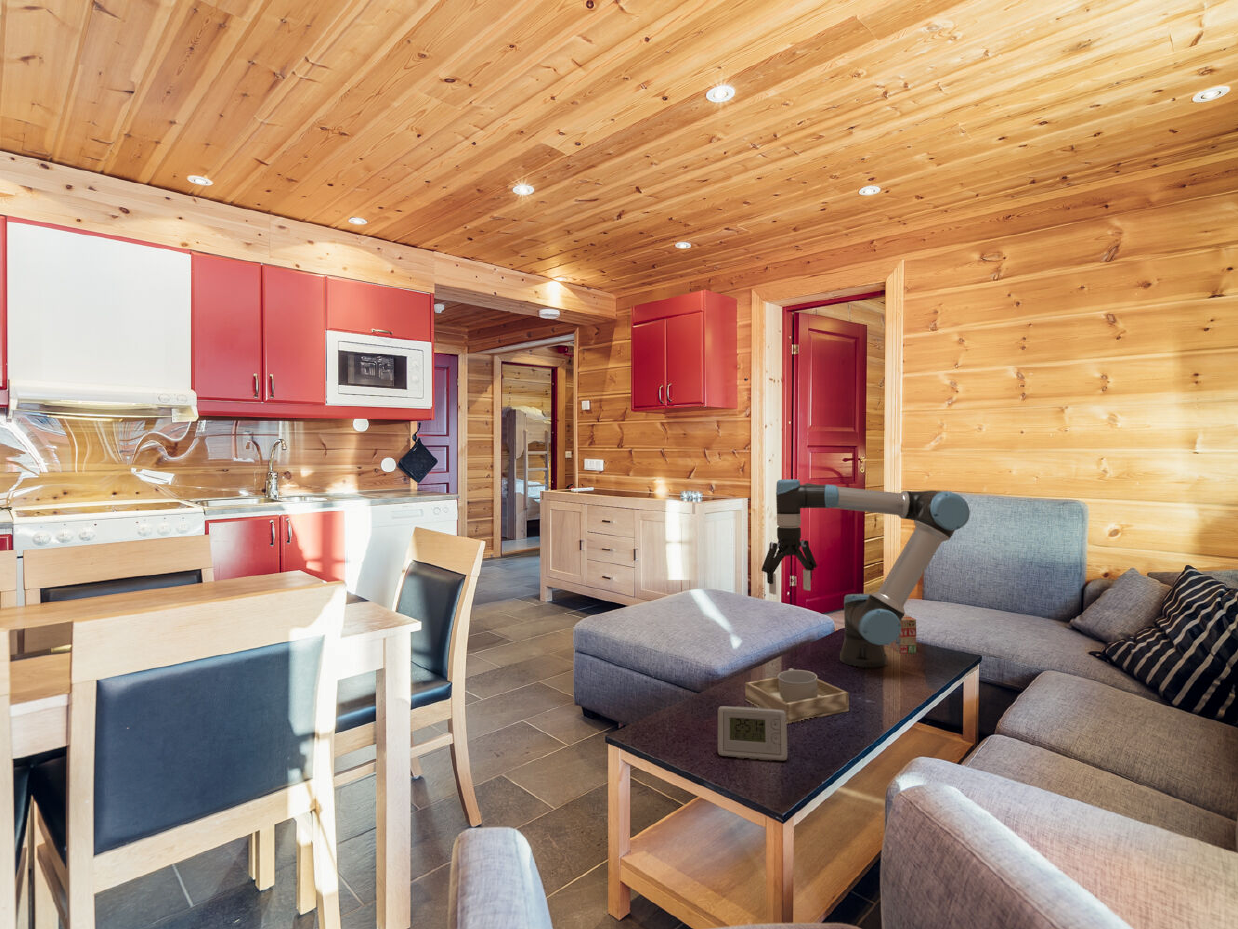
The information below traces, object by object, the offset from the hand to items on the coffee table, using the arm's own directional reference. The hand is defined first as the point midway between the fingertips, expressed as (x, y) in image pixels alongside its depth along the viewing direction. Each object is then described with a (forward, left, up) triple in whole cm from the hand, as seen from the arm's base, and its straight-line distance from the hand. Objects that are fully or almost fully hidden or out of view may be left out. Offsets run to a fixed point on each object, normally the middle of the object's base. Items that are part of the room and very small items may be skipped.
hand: (790, 591), depth 207 cm
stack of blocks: (-55, -10, -27) cm, 62 cm away
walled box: (+16, +22, -27) cm, 38 cm away
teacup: (+15, +22, -26) cm, 38 cm away
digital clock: (+45, +43, -27) cm, 68 cm away
